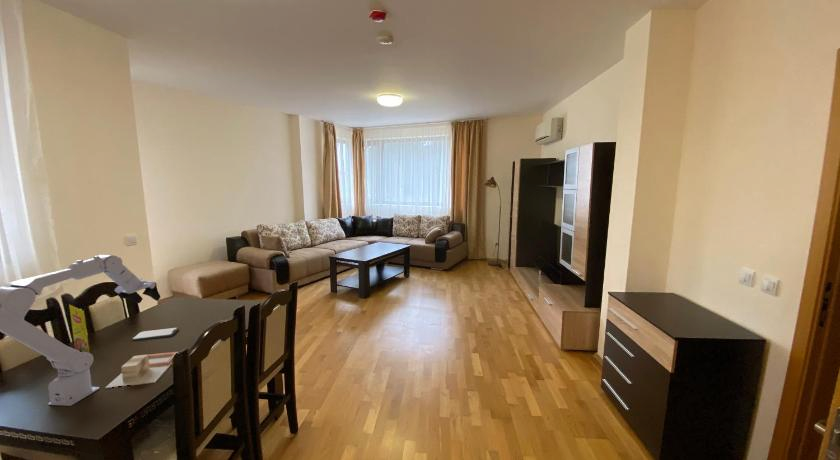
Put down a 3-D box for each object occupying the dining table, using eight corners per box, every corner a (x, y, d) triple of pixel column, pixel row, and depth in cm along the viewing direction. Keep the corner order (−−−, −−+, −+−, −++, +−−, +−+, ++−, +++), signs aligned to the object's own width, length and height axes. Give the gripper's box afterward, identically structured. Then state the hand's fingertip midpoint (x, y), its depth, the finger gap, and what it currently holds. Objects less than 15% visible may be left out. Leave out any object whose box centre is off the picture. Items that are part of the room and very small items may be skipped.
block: (137, 380, 120) (136, 365, 119) (123, 382, 119) (121, 367, 118) (149, 369, 128) (147, 354, 127) (135, 370, 127) (134, 355, 126)
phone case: (131, 342, 151) (172, 337, 155) (130, 339, 151) (171, 334, 155) (140, 334, 159) (179, 330, 164) (140, 331, 159) (179, 326, 164)
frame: (178, 354, 139) (178, 351, 139) (168, 364, 131) (168, 362, 131) (145, 357, 136) (144, 355, 136) (133, 368, 128) (132, 365, 128)
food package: (73, 348, 143) (67, 304, 141) (76, 347, 144) (71, 303, 142) (88, 357, 136) (82, 311, 134) (91, 356, 137) (85, 310, 135)
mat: (155, 382, 120) (155, 381, 120) (105, 388, 116) (105, 387, 116) (180, 354, 140) (180, 353, 140) (139, 358, 136) (138, 357, 136)
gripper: (149, 268, 128) (171, 289, 137) (113, 273, 128) (138, 294, 137) (139, 282, 122) (163, 303, 132) (101, 287, 123) (128, 308, 132)
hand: (149, 299), depth 134 cm, fingers open, 7 cm apart
